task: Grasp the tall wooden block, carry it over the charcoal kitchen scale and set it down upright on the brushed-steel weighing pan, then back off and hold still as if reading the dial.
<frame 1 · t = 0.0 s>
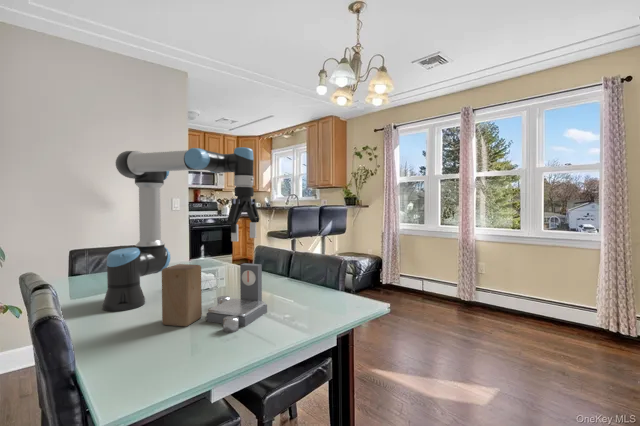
hand: (244, 239, 133), 28 cm above the table, fingers open, 13 cm apart
wooden block: (182, 322, 119), on the table
spacer b: (223, 307, 135), on the table
spacer a: (231, 330, 111), on the table
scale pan: (238, 310, 124), point 2 cm above the table, slide at -1.1 cm
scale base: (238, 316, 124), on the table
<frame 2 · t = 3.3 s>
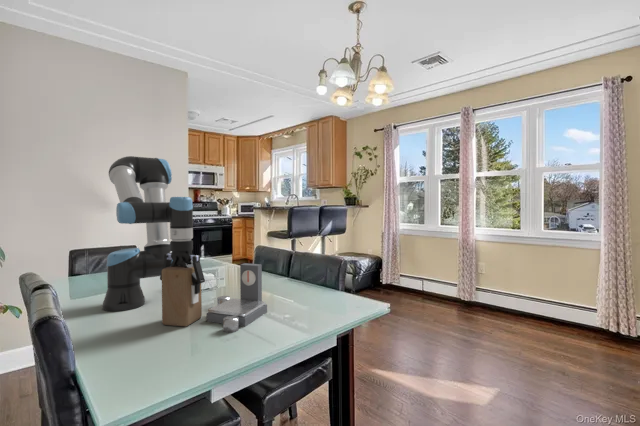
hand: (182, 301, 118), 7 cm above the table, fingers closed on wooden block, 10 cm apart
wooden block: (182, 322, 118), on the table, touching gripper
everything else where it was.
when the fingers open (14 cm above the table, at t = 8.2 s): wooden block drops 3 cm, resting on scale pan.
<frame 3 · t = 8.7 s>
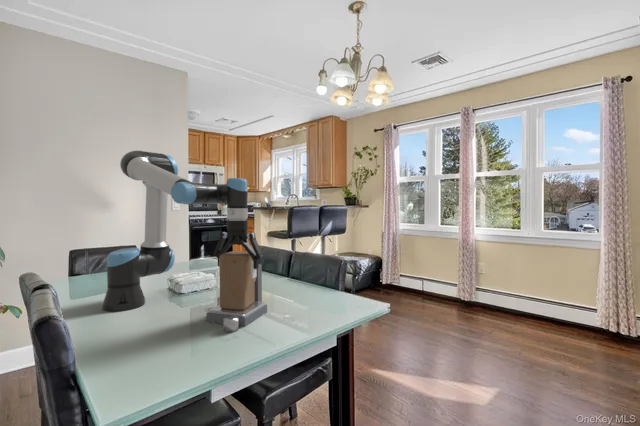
hand: (237, 276, 123), 15 cm above the table, fingers open, 13 cm apart
wooden block: (237, 306, 124), point 4 cm above the table, touching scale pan
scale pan: (238, 310, 124), point 2 cm above the table, slide at -1.2 cm, touching wooden block
everything else where it was.
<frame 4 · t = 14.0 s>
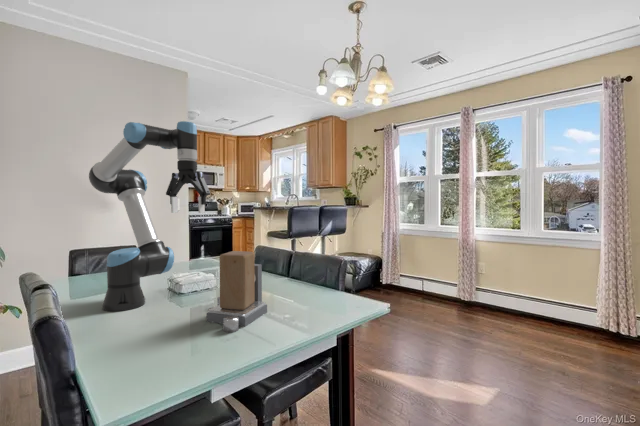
hand: (187, 212, 135), 39 cm above the table, fingers open, 13 cm apart
nothing on the table moved.
at the end: wooden block inside the target area on the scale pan (0.1 cm from its centre), point 5.1 cm above the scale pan's base; wooden block tilted 0°; wooden block touching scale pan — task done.
